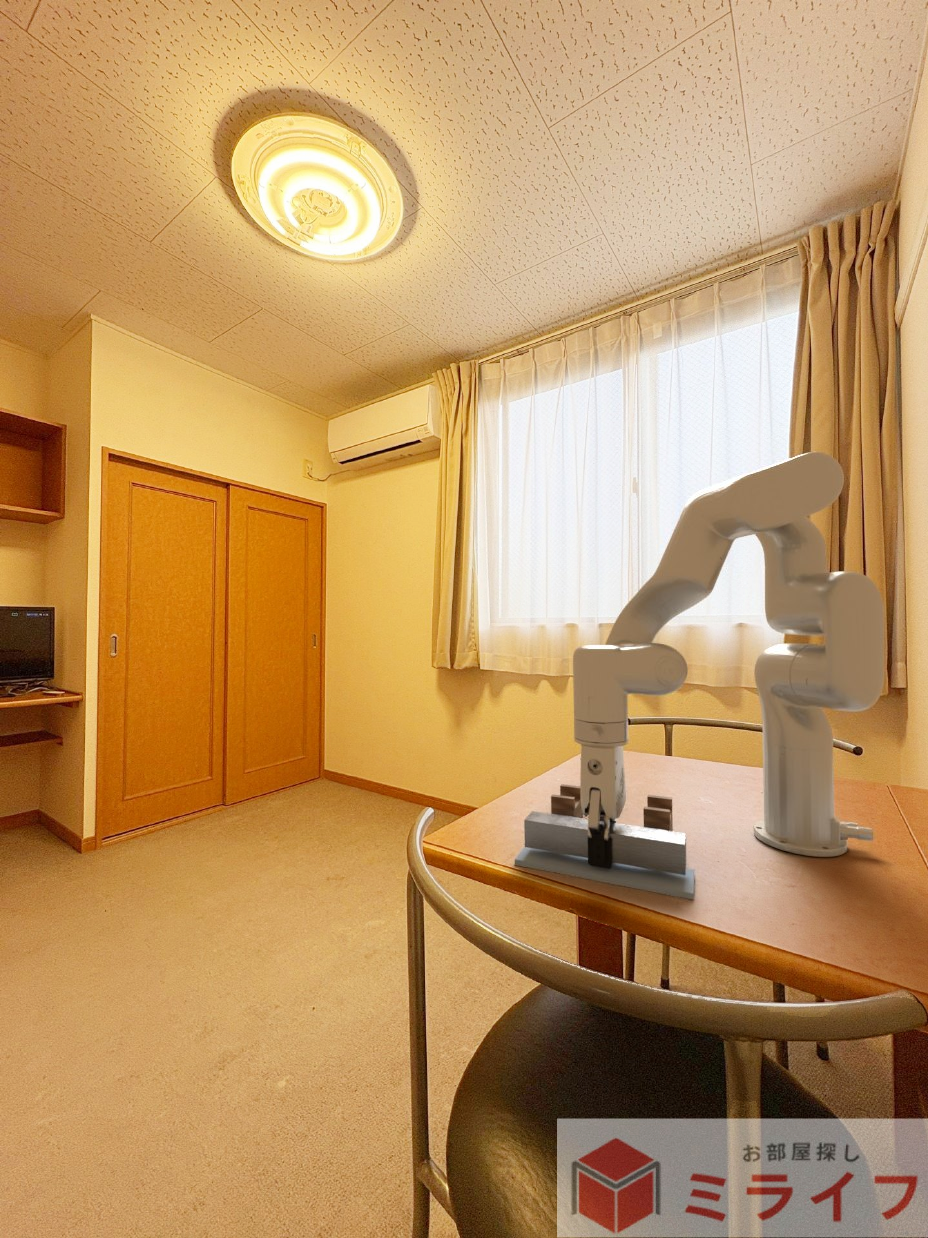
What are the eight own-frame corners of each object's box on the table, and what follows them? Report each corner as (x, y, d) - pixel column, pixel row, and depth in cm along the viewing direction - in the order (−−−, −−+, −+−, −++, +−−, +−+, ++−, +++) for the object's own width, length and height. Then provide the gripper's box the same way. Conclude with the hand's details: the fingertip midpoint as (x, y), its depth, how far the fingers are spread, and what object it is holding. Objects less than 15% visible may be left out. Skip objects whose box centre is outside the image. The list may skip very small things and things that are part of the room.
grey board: (694, 875, 72) (694, 869, 72) (693, 900, 66) (693, 893, 66) (529, 846, 82) (529, 840, 82) (514, 864, 76) (514, 859, 76)
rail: (686, 862, 71) (685, 833, 71) (685, 875, 67) (684, 844, 67) (532, 836, 80) (532, 811, 80) (524, 847, 77) (524, 820, 77)
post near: (672, 847, 81) (672, 797, 81) (670, 866, 75) (669, 812, 75) (648, 843, 82) (647, 794, 82) (644, 861, 76) (643, 808, 76)
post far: (583, 833, 87) (582, 786, 87) (574, 849, 81) (573, 799, 81) (562, 829, 88) (561, 784, 88) (551, 845, 82) (551, 796, 82)
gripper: (619, 746, 65) (621, 892, 65) (635, 722, 80) (637, 841, 80) (560, 741, 68) (562, 881, 68) (586, 719, 83) (588, 833, 83)
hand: (602, 858), depth 74 cm, fingers closed on rail, 4 cm apart
